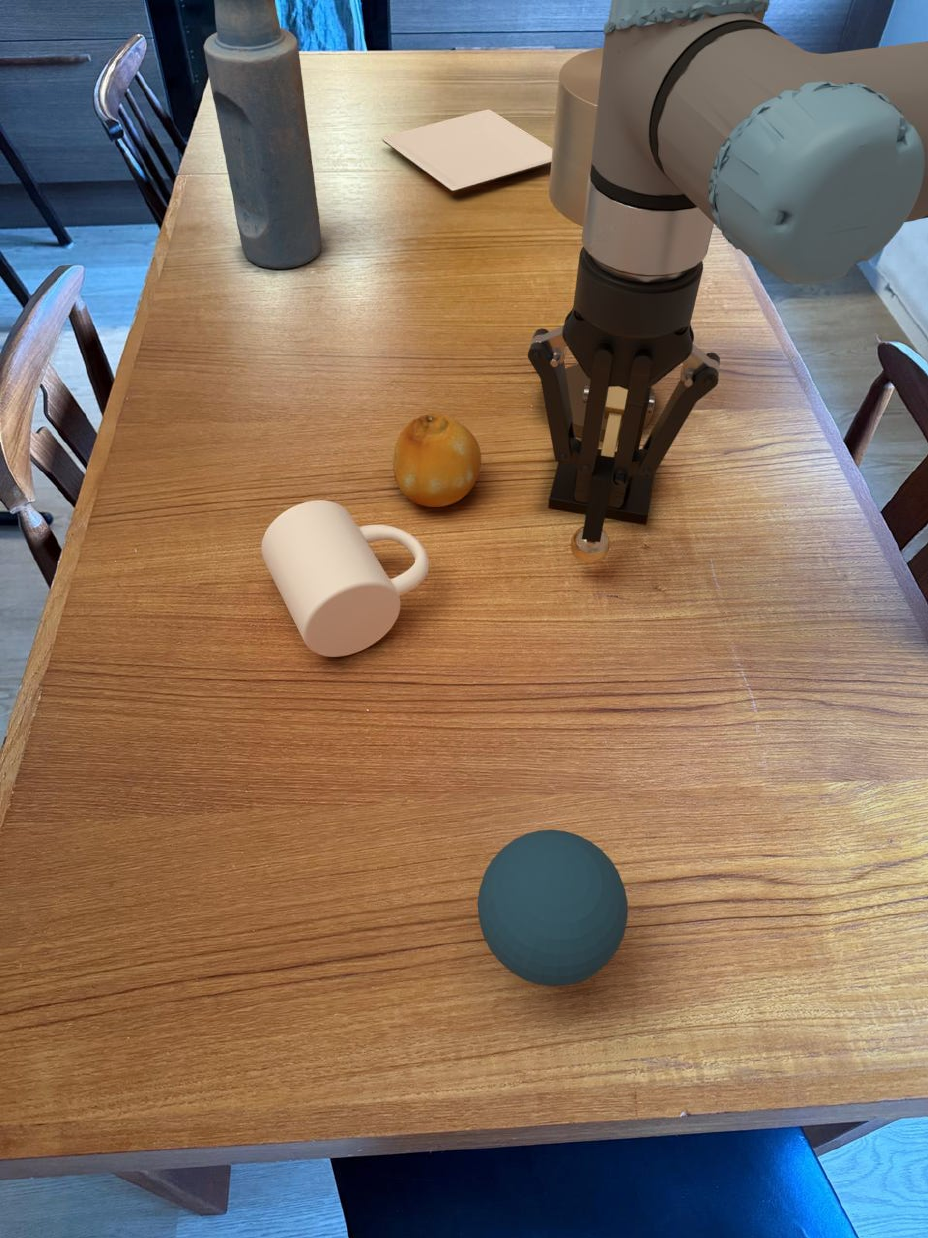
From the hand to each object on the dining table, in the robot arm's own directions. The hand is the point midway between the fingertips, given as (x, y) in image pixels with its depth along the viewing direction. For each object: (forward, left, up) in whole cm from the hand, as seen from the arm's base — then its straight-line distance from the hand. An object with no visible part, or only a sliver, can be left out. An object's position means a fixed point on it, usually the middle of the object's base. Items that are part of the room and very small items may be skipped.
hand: (593, 528), depth 72 cm
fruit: (+8, +15, -6) cm, 18 cm away
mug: (-7, +18, -6) cm, 20 cm away
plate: (+75, +27, -6) cm, 79 cm away
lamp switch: (+6, 0, 0) cm, 6 cm away
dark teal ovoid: (-32, -2, -6) cm, 33 cm away
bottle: (+45, +44, -6) cm, 63 cm away
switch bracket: (+12, 0, -6) cm, 13 cm away
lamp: (+24, +2, -6) cm, 24 cm away
